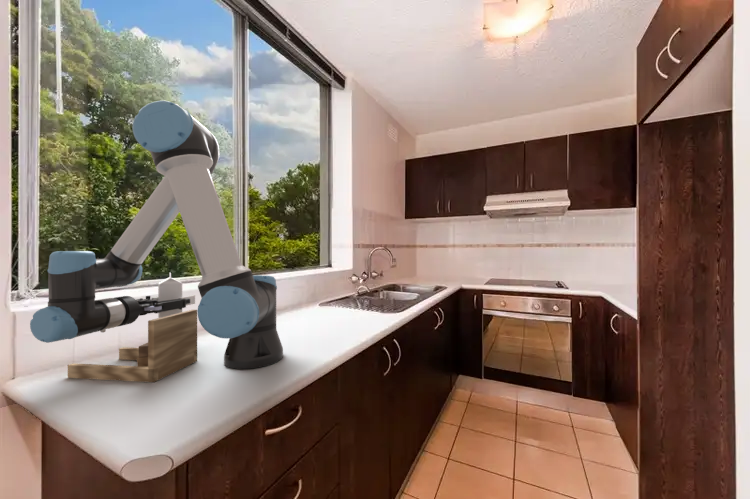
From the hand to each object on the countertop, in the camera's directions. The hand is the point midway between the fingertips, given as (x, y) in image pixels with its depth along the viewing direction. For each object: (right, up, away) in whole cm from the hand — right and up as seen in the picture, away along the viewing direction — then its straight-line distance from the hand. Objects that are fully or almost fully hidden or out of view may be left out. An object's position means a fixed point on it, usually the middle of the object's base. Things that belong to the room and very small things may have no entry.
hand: (181, 299), depth 101 cm
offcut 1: (+8, -10, -24) cm, 27 cm away
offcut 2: (+9, -12, -24) cm, 28 cm away
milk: (-1, -13, -5) cm, 14 cm away
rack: (+3, -14, -22) cm, 27 cm away
